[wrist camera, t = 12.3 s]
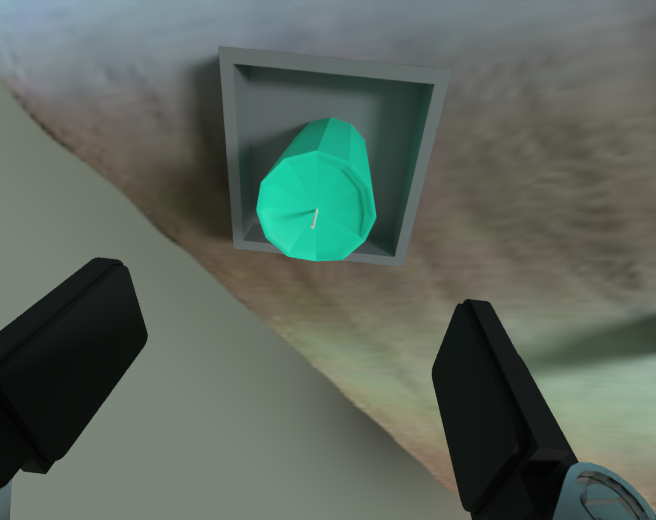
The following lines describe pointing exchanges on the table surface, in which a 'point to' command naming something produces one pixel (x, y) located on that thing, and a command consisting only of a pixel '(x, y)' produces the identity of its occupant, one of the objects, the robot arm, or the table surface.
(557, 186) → the table surface
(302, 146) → the candle
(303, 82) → the box
